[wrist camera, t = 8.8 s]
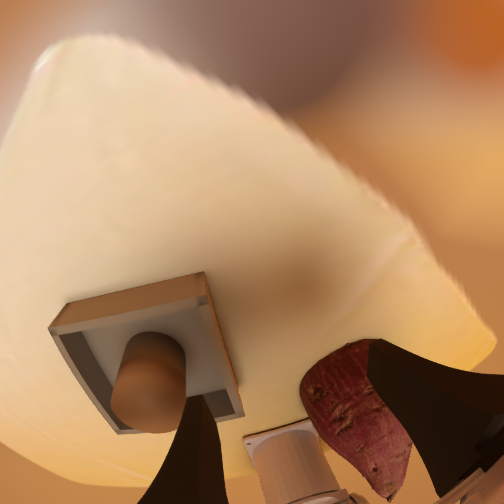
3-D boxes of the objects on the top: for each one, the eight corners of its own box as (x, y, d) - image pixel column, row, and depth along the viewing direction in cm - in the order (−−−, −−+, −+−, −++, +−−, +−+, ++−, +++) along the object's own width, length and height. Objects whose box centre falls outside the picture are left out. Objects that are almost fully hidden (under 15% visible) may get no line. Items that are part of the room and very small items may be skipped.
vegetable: (325, 401, 29) (354, 512, 17) (274, 375, 24) (301, 528, 12) (403, 357, 26) (453, 470, 14) (373, 315, 21) (447, 478, 9)
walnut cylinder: (192, 375, 20) (195, 429, 15) (137, 382, 19) (129, 435, 14) (176, 326, 18) (173, 380, 13) (116, 335, 18) (97, 387, 12)
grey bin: (237, 386, 22) (245, 416, 18) (122, 405, 20) (117, 434, 17) (203, 271, 18) (206, 294, 15) (66, 303, 17) (47, 328, 14)
